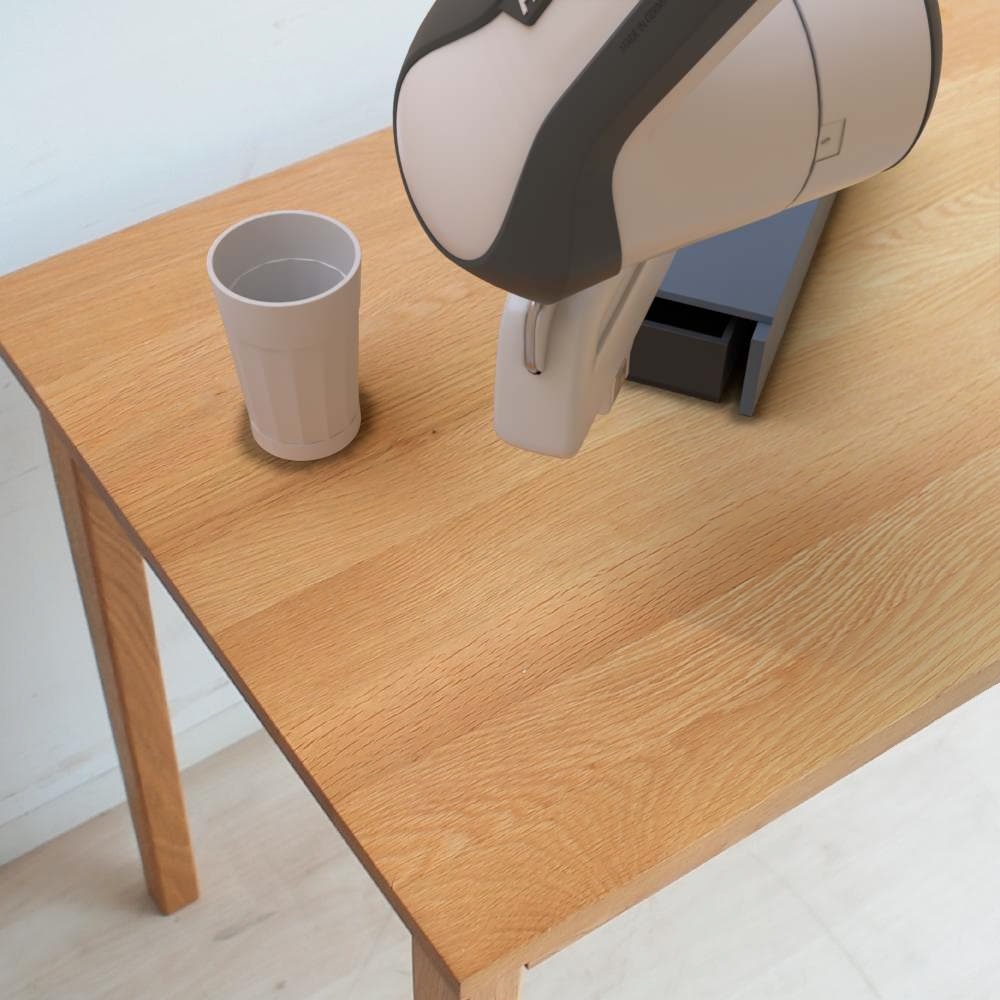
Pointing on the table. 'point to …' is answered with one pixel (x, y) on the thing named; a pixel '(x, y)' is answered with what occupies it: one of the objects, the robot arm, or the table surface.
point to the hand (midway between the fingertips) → (601, 393)
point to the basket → (686, 348)
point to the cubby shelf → (752, 279)
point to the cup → (293, 327)
